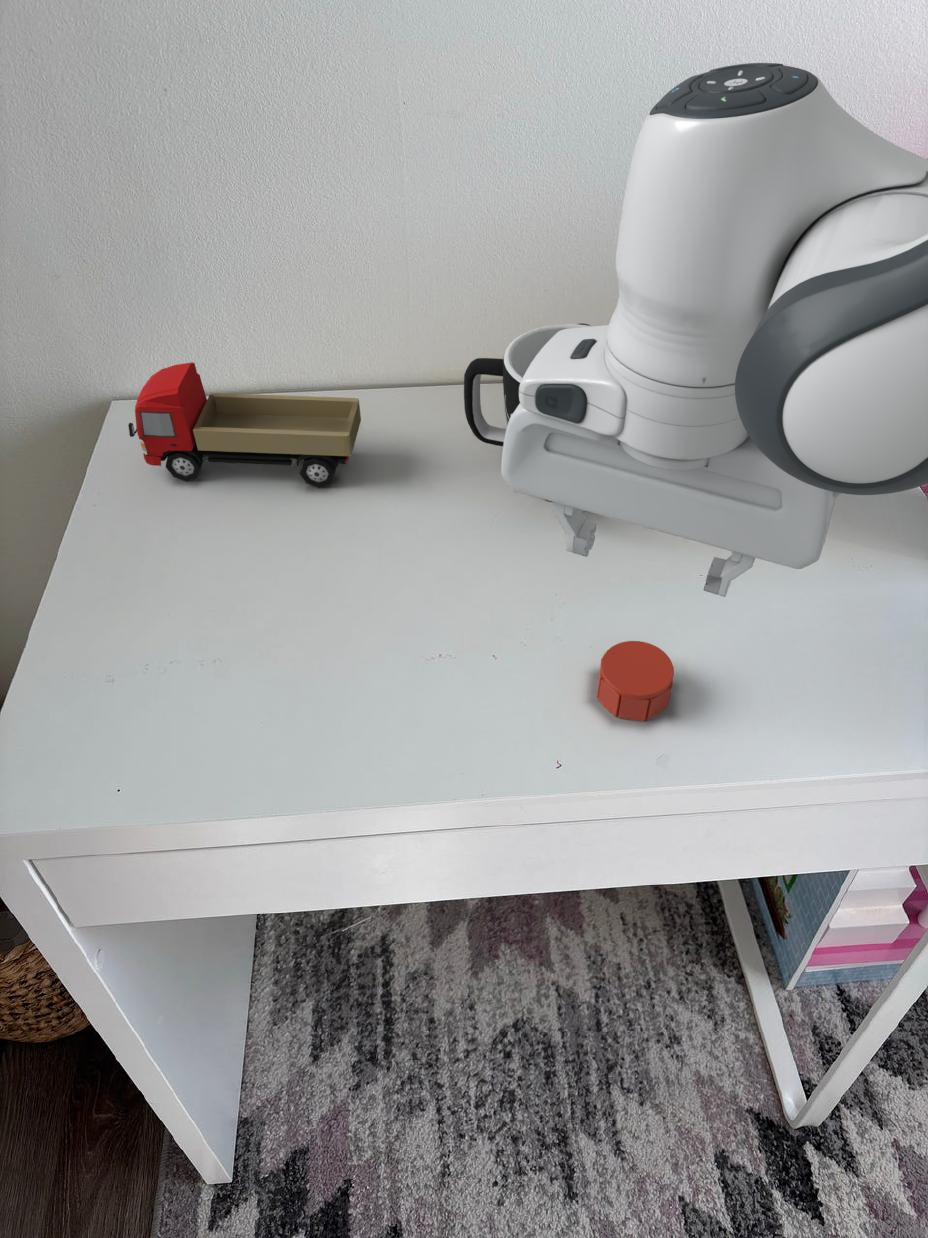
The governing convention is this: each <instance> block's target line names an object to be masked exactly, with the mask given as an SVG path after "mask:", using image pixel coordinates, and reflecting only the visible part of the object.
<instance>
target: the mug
mask: <svg viewBox="0 0 928 1238" xmlns="http://www.w3.org/2000/svg"><path fill="white" fill-rule="evenodd" d="M580 327H592V325H591V324H588V323H581V322H580V323H559V324H550V325H545V326H544V325H543V326H541V327H537V328H534V329H531V330H528V331H525V332H524V333H522V334H520V335H518V336H517V337H516V338H514V339H513V340H512V341H511V342H510V343H509V344H508V346H507V347H506V349H505V351H504V353H503V358H494V357H477V358H475V359H473V360H472V361H470V363H469V364H468V365H467V367H466V369H465V372H464V375H463V405H464V414H465V418H466V421H467V425H468V426H469V428H470V430H471V432H472V434H473V435H474V436H475V437H476V439H478V440H479V441H480V442H482V443H485V444H488V445H493V446H499V447H503V444H504V438H505V433H506V429H507V428H504V427H498V426H494V425H490V424H489V423H488V422H487V421H486V419H485V417H484V414H483V412H482V405H481V377H482V375H483V376H484V375H485V376H493V377H501V378H502V388H503V389H502V390H503V403H504V413H505V419H506V426H507V425H508V422H509V419H510V417H511V416H512V414H513V413H514V411H515V410H516V408H517V407H518V405H519V404H520V401H519V386H520V383H521V381H522V379H523V376H524V374H525V373H526V371H527V369H528V367H529V366H530V364H531V362H532V361H533V359H534V358H535V357H536V355H537V354H538V353H539V351H540V350H541V349H542V348H543V347H544V345H545V344H546V343H547V342H548V341H549V340H550V339H551V338H552V337H553V336H554V335H555V334H556V333H557V332H559V331H561V330H563V329H569V328H580ZM544 501H545V502H549V503H552V502H551V501H548V500H544Z"/></svg>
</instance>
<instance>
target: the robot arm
mask: <svg viewBox="0 0 928 1238" xmlns="http://www.w3.org/2000/svg"><path fill="white" fill-rule="evenodd" d="M619 220H620V221H619V229H618V236H617V244H616V250H615V251H616V252H615V271H616V275H617V276H616V277H617V281H618V299H617V303H616V307H615V309H614V310H613V313H612V315H611V318H610V320H609V323H608V324H603V325H593V326H592V325H591V326H592V327H580V328H569V329H563V330H561V331H559V332H557V333H556V334H555V335H554V336H553V337H552V338H551V339H550V340H549V341H548V342H547V343H546V344H545V345H544V347H543V348H542V349H541V350H540V351H539V353H538V354H537V355H536V357H535V358H534V359H533V361H532V362H531V364H530V366H529V367H528V369H527V371H526V373H525V374H524V376H523V379H522V381H521V383H520V386H519V401H520V404H519V405H518V407H517V408H516V410H515V411H514V413H513V414H512V416H511V417H510V419H509V422H508V425H507V424H506V428H505V429H506V433H505V438H504V444H503V446H502V452H501V461H500V462H501V463H500V472H501V478H503V480H504V482H505V483H506V484H507V486H508V487H509V488H510V489H511V491H513V492H515V493H518V494H523V495H527V496H530V497H534V498H537V499H541V500H544V501H545V500H548V501H551V502H550V503H552V504H553V505H552V512H553V515H554V516H555V518H556V520H557V521H558V523H559V524H560V526H561V528H562V529H563V531H564V533H565V534H567V535H566V546H565V552H568V553H572V554H575V555H579V556H583V557H588V556H589V554H590V551H591V550H592V548H593V546H594V543H595V540H596V535H595V534H596V531H597V523H595V522H592V521H588V520H586V517H585V516H584V514H583V511H584V512H588V513H591V514H595V515H599V516H603V517H606V518H610V519H613V520H617V521H621V522H624V523H628V524H631V525H635V526H639V527H643V528H646V529H650V530H653V531H656V532H661V533H664V534H668V535H672V536H675V537H679V538H683V539H686V540H690V541H692V542H697V543H701V544H705V545H706V546H707V545H708V546H711V547H715V548H719V549H722V550H726V551H729V552H731V555H730V556H729V557H728V558H725V559H724V558H722V557H717V556H713V559H712V561H711V564H710V567H709V569H708V571H707V575H706V578H705V584H704V586H703V591H704V592H706V593H710V594H713V595H717V596H721V597H723V598H726V597H727V594H728V592H729V588H730V586H731V582H732V581H734V580H735V579H737V578H738V577H739V576H741V575H742V574H745V572H747V571H749V570H750V569H751V568H753V566H754V563H755V560H756V559H759V560H763V561H765V562H770V563H773V564H777V565H780V566H784V567H788V568H792V569H795V570H802V569H803V570H804V569H805V568H808V567H809V566H811V565H813V564H814V563H817V562H818V561H819V560H820V558H821V554H822V551H823V548H824V545H825V542H826V539H827V535H828V533H829V532H828V531H829V527H830V524H831V519H832V516H833V511H834V507H835V503H836V498H837V496H839V495H841V494H845V495H854V496H877V495H887V494H894V493H895V494H896V493H900V492H904V491H909V490H913V489H915V488H919V487H922V486H925V485H927V484H928V158H926V157H923V156H921V155H919V154H916V153H914V152H911V151H909V150H907V149H905V148H903V147H901V146H898V145H897V144H895V143H893V142H892V141H889V140H888V139H886V138H884V137H882V136H880V135H879V134H877V133H876V132H874V131H873V130H871V129H869V128H868V127H866V126H865V125H864V124H863V123H862V122H860V121H858V120H857V119H856V118H854V117H853V116H852V115H851V114H850V113H848V112H847V111H846V110H845V109H844V108H843V107H842V106H841V105H840V104H839V103H838V102H837V101H836V100H835V99H834V98H833V96H832V95H831V94H830V92H829V90H828V89H827V87H826V86H825V84H824V83H823V82H822V81H821V79H820V78H819V77H818V76H817V75H815V74H813V73H812V72H810V71H808V70H806V69H802V68H799V67H794V66H791V65H790V66H789V65H785V64H783V63H779V62H778V63H777V62H750V63H749V62H748V63H747V62H746V63H739V64H732V65H726V66H721V67H717V68H713V69H710V70H709V71H706V72H702V73H700V74H696V75H693V76H690V77H688V78H687V79H684V80H683V81H682V82H679V83H678V84H676V86H674V87H673V88H671V89H670V90H668V92H666V94H664V95H663V97H661V99H659V101H658V102H657V103H656V104H654V106H653V107H652V108H651V109H650V111H649V112H648V114H647V116H646V117H645V119H644V121H643V123H642V125H641V128H640V130H639V134H638V136H637V139H636V142H635V146H634V149H633V153H632V158H631V161H630V166H629V170H628V175H627V181H626V186H625V191H624V197H623V202H622V208H621V215H620V219H619ZM548 501H547V502H548Z"/></svg>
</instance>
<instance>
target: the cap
mask: <svg viewBox="0 0 928 1238" xmlns="http://www.w3.org/2000/svg"><path fill="white" fill-rule="evenodd" d="M674 675H675V668H674V664H673V662H672V660H671V658H670V657H669V655H668V654H667V653H666V652H665V651H664V650H663V649H661V648H660V647H658V646H656V645H654V644H652V643H649V642H646V641H641V640H627V641H622V642H618V643H616V644H614V645H612V646H611V647H610V648H609V649H607V650H606V651H605V652H604V654H603V655H602V657H601V659H600V666H599V673H598V680H597V681H598V682H597V693H596V698H597V699H598V700H597V701H598V702H599V703H600V704H601V705H602V706H603V707H604V708H605V709H606V710H607V711H608V712H610V714H612V715H613V716H614V717H615V718H616V717H617V718H618V719H622V720H631V721H637V722H638V721H639V722H646V721H650V720H651V719H653V718H655V717H656V716H657V715H659V714H660V713H663V712H664V711H665V710H667V708H668V706H669V704H670V700H671V695H672V691H673V686H674Z"/></svg>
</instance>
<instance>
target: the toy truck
mask: <svg viewBox="0 0 928 1238" xmlns="http://www.w3.org/2000/svg"><path fill="white" fill-rule="evenodd" d="M134 417H135V426H136V428H135V426H134V423H133V422H129V423H128V433H129V437H132V438H134V436H136V434H137V436H138V441H139V445H140V446H141V447H140V448H141V450H142V455H143V459H144V461H145V463H146V464H147V465H149V466H153V467H154V466H157V467H162V462H165V461H166V462H165V468H166V470H167V471H168V473H170V475H171V477H172V478H175V479H178V480H181V481H184V482H189V481H192V480H196V479H198V478H199V475H200V473H201V471H202V467H203V463H204V456H205V457H206V460H207V463H214V464H215V463H216V464H217V463H219V464H239V465H240V464H244V465H264V466H265V465H267V466H268V465H269V466H291V465H292V464H293V460H296V461H295V462H296V463H295V464H296V467H299V465H300V463H301V461H303V462H302V465H301V467H300V470H299V475H300V477H301V478H302V479H303V481H304V482H305V484H307V485H310V486H311V487H312V486H313V487H315V488H318V489H320V488H324V487H327V486H331V485H332V482H333V479H334V478H335V474H336V471H337V468H338V466H339V465H348V461H349V458H350V457H351V456H353V452H354V448H355V444H356V439H357V437H358V432H359V428H360V427H361V426H360V425H361V422H362V417H361V405H360V400H359V398H357V397H338V396H337V397H336V396H314V395H313V396H309V395H281V394H256V393H225V392H210V393H209V395H208V397H207V395H206V392H205V388H204V385H203V382H202V378H201V374H200V373H198V371H197V367H196V363H195V362H193V361H191V362H186V363H179V364H174V365H170V366H168V367H164V368H161V369H160V370H158V371H156V372H155V373H154V374H152V375H150V377H149V379H148V380H147V381H146V383H145V384H144V385H143V386H142V388H141V390H140V392H139V394H138V396H137V399H136V403H135V406H134Z"/></svg>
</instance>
